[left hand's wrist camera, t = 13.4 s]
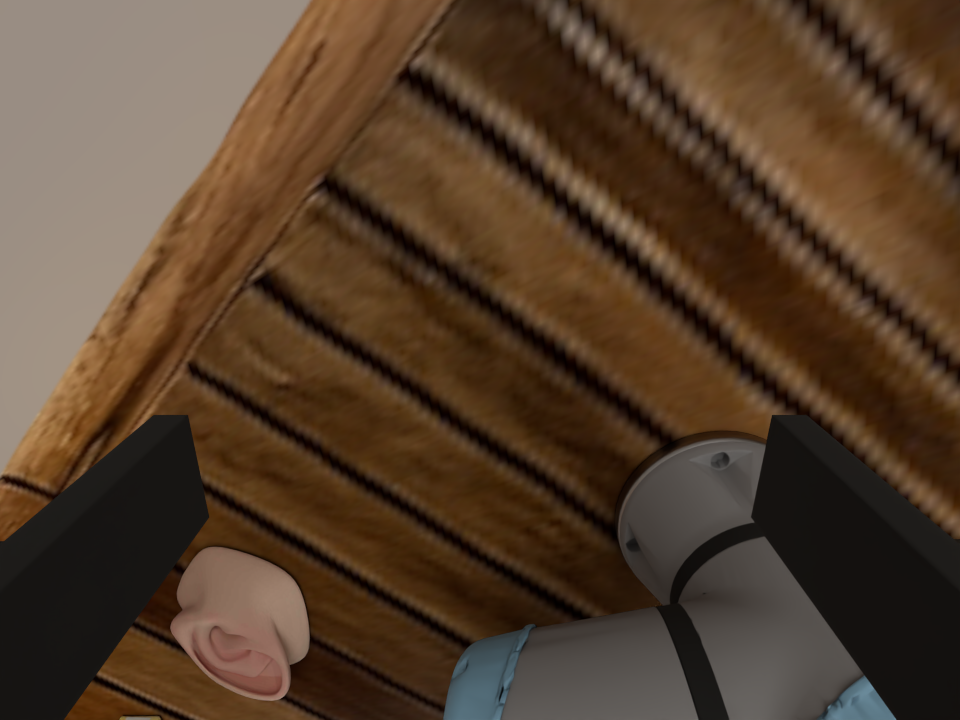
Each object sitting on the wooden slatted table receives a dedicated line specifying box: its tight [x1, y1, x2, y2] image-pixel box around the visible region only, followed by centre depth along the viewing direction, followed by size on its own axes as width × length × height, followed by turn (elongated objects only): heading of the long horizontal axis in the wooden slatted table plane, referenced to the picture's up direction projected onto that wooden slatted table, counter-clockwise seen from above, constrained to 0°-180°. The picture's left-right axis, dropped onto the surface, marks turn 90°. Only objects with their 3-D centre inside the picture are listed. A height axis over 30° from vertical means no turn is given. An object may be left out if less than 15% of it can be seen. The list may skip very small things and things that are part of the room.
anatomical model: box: [171, 547, 310, 700], centre depth 48 cm, size 13×4×12 cm
